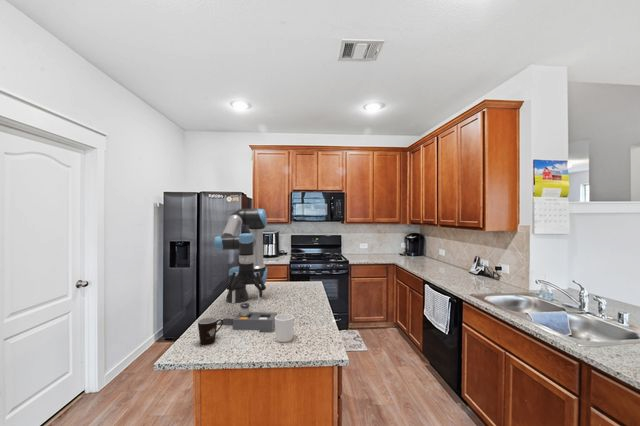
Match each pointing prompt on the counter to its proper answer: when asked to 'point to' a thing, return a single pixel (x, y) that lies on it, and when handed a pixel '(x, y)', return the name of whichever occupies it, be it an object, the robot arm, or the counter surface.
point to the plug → (245, 310)
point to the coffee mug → (208, 330)
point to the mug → (284, 328)
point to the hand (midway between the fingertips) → (246, 303)
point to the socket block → (255, 321)
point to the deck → (226, 322)
